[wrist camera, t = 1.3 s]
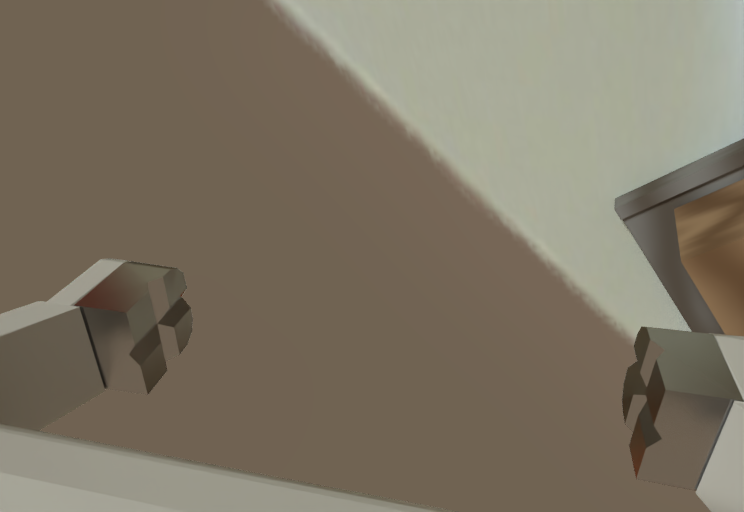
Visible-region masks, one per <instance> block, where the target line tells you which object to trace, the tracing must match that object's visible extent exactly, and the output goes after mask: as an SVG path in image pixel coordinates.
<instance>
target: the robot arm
mask: <svg viewBox="0 0 744 512" xmlns="http://www.w3.org/2000/svg"><path fill="white" fill-rule="evenodd" d="M186 289H187V286H186V282H185V278H184V274H183V272H181V271H180V270H179V269H178V268H174V267H167V266H160V265H154V264H147V263H140V262H133V261H131V262H129V261H126V260H118V259H100V260H99V261H98V262H97V263H95V264H94V265H93V266H91V267H90V268H89V269H88V270H86V271H85V272H84V273H83V274H82V275H80V276H79V277H78V278H76V279H75V280H74V281H73V282H71V283H70V284H69V285H68V286H66V287H65V288H64V289H62V290H61V291H60V292H59V293H57V294H56V295H55V296H54V297H52V298H51V299H50V300H49V301H47V302H42V301H38V302H35V303H33V304H29V305H26V306H23V307H20V308H17V309H14V310H12V311H8V312H6V313H2V314H0V512H457V511H451V510H446V509H441V508H436V507H431V506H426V505H421V504H416V503H410V502H405V501H400V500H395V499H390V498H384V497H380V496H374V495H369V494H364V493H359V492H354V491H349V490H343V489H338V488H333V487H327V486H322V485H317V484H312V483H306V482H302V481H296V480H291V479H286V478H281V477H276V476H270V475H265V474H260V473H255V472H249V471H244V470H239V469H234V468H229V467H223V466H218V465H213V464H208V463H203V462H197V461H192V460H187V459H182V458H177V457H171V456H165V455H161V454H155V453H151V452H146V451H140V450H135V449H129V448H125V447H120V446H114V445H109V444H104V443H99V442H93V441H88V440H83V439H78V438H73V437H68V436H63V435H57V434H52V433H47V432H42V431H39V430H41V429H43V428H44V427H46V426H47V425H49V424H51V423H53V422H54V421H56V420H58V419H59V418H61V417H63V416H64V415H66V414H68V413H69V412H71V411H73V410H75V409H76V408H78V407H79V406H81V405H82V404H85V403H86V402H88V401H90V400H91V399H93V398H94V397H96V396H98V395H100V394H101V393H103V392H104V391H105V389H110V390H118V391H124V392H131V393H138V394H145V395H148V394H149V393H150V391H151V390H152V389H153V387H154V386H155V385H156V384H157V383H158V381H159V380H160V379H161V378H162V376H163V375H164V374H165V373H166V371H167V366H166V361H168V360H170V359H172V358H174V357H176V356H178V355H180V354H181V352H182V351H183V349H184V348H185V347H186V346H187V344H188V341H189V338H190V335H191V332H192V322H193V318H192V312H191V307H190V306H189V305H188V304H187V303H186V301H185V300H184V299H183V298H182V295H183V293H184V292H185V290H186ZM634 350H635V354H636V358H637V362H635V363H634V364H633V365H631V366H630V367H628V369H627V373H626V377H625V381H624V387H623V396H622V404H623V405H622V406H623V416H624V421H625V425H626V426H627V427H628V428H629V429H630V430H631V431H632V432H633V434H632V438H631V442H630V444H629V447H630V452H631V456H632V461H633V466H634V471H635V476H636V479H639V480H644V481H649V482H654V483H659V484H664V485H669V486H674V487H679V488H684V489H689V490H695V491H696V495H697V496H698V497H699V498H700V499H701V500H702V502H703V503H704V504H705V505H706V506H707V507H708V509H709V510H710V511H711V512H744V336H734V335H723V334H713V333H709V334H707V333H698V332H689V331H679V330H670V329H661V328H652V327H641V328H640V330H639V332H638V334H637V337H636V341H635V344H634Z"/></svg>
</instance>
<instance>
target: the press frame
mask: <svg viewBox="0 0 744 512" xmlns="http://www.w3.org/2000/svg"><path fill="white" fill-rule="evenodd" d="M742 179H744V139H742V140H740V141H738V142H735V143H733V144H731V145H729V146H727V147H725V148H723V149H720V150H718V151H716V152H714V153H712V154H710V155H708V156H705V157H703V158H701V159H699V160H697V161H695V162H693V163H691V164H688V165H686V166H684V167H682V168H680V169H678V170H676V171H673V172H671V173H669V174H667V175H665V176H663V177H661V178H658V179H656V180H654V181H652V182H650V183H648V184H646V185H643V186H641V187H639V188H637V189H635V190H633V191H631V192H629V193H626V194H624V195H622V196H620V197H618V198H616V199H615V211H616V213H617V214H618V216H619V217H620V219H621V220H622V219H623V221H624V222H625V224H626V226H627V227H628V229H629V231H630V232H631V234H632V235H633V237H634V239H635V240H636V242H637V243H638V245H639V247H640V248H641V250H642V251H643V253H644V255H645V256H646V258H647V260H648V261H649V263H650V264H651V266H652V268H653V269H654V271H655V272H656V274H657V276H658V277H659V279H660V280H661V282H662V284H663V285H664V287H665V289H666V290H667V292H668V293H669V295H670V297H671V298H672V300H673V301H674V303H675V305H676V306H677V308H678V309H679V311H680V313H681V314H682V316H683V318H684V319H685V321H686V322H687V324H688V326H689V327H690V329H691V330H692V332H698V333H707V334H709V333H713V334H723V335H725V333H724V332H723V330H722V328H721V327H720V325H719V323H718V322H717V320H716V318H715V317H714V315H713V313H712V312H711V310H710V308H709V307H708V305H707V303H706V302H705V300H704V299H703V297H702V295H701V294H700V292H699V290H698V289H697V287H696V285H695V284H694V282H693V280H692V279H691V277H690V275H689V274H688V272H687V270H686V269H685V267H684V266H683V264H682V262H681V257H680V250H679V242H678V235H677V228H676V220H675V213H674V209H675V208H677V207H680V206H682V205H684V204H687V203H689V202H691V201H694V200H696V199H698V198H701V197H703V196H705V195H707V194H710V193H712V192H714V191H717V190H719V189H721V188H724V187H726V186H728V185H731V184H733V183H735V182H738V181H740V180H742Z"/></svg>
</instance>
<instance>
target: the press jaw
mask: <svg viewBox="0 0 744 512" xmlns="http://www.w3.org/2000/svg"><path fill="white" fill-rule="evenodd" d="M674 213H675V220H676V228H677V235H678V242H679V250H680V257H681V262H682V264H683V266H684V267H685V269H686V270H687V272H688V274H689V275H690V277H691V279H692V280H693V282H694V284H695V285H696V287H697V289H698V290H699V292H700V294H701V295H702V297H703V299H704V300H705V302H706V303H707V305H708V307H709V308H710V310H711V312H712V313H713V315H714V317H715V318H716V320H717V322H718V323H719V325H720V327H721V328H722V330H723V332H724V333H725V335H734V336H744V179H742V180H740V181H738V182H735V183H733V184H731V185H728V186H726V187H724V188H721V189H719V190H717V191H714V192H712V193H710V194H707V195H705V196H703V197H701V198H698V199H696V200H694V201H691V202H689V203H687V204H684V205H682V206H680V207H677V208H675V209H674Z"/></svg>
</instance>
